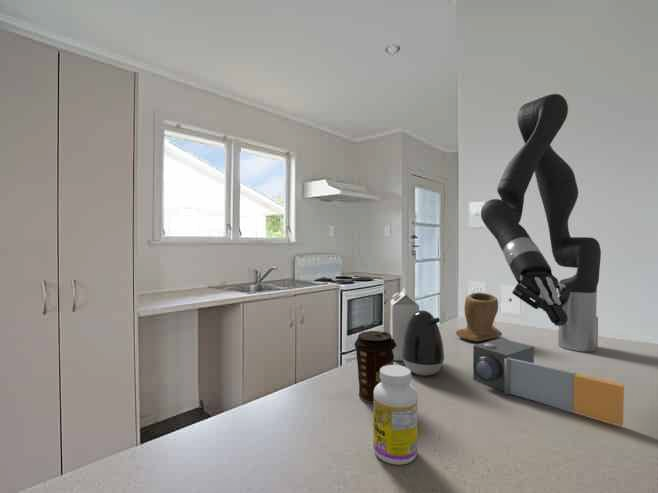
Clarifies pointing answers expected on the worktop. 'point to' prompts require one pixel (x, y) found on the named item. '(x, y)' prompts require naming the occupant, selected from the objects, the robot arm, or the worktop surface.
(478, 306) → the clay pot
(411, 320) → the pump dispenser
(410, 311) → the milk carton
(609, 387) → the grey and orange bar
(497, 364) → the camera body
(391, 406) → the supplement bottle
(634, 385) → the worktop surface
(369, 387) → the coffee cup
